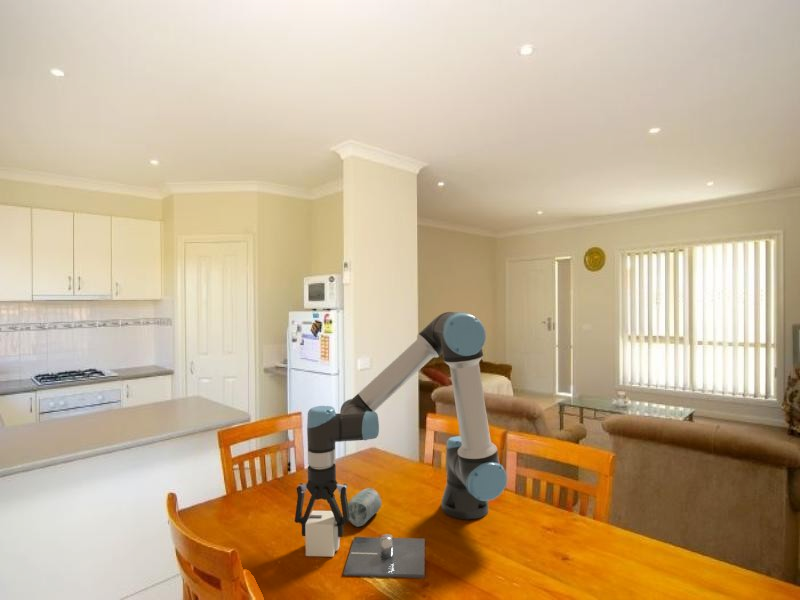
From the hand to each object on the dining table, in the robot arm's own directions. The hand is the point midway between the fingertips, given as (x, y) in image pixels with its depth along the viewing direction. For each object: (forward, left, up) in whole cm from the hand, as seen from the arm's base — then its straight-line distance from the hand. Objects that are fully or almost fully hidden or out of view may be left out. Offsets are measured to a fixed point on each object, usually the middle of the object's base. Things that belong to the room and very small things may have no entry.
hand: (322, 547), depth 119 cm
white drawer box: (0, 0, 0) cm, 0 cm away
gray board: (-18, +3, 0) cm, 18 cm away
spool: (-9, -17, -1) cm, 19 cm away
